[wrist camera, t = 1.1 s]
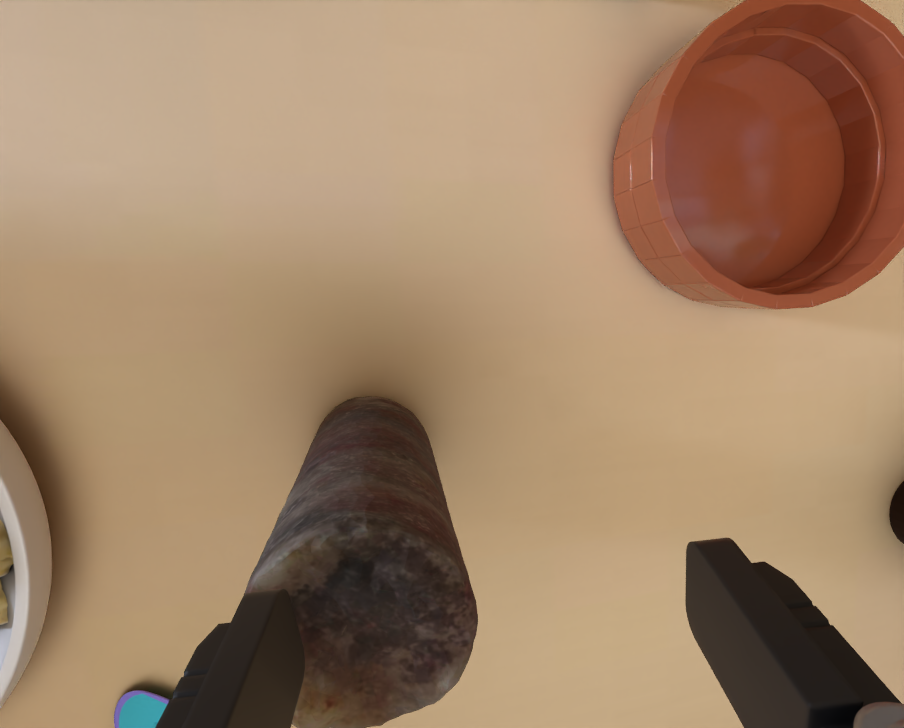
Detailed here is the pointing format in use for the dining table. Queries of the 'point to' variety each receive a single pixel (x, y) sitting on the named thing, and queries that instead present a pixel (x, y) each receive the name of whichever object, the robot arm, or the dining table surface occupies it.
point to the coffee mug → (898, 513)
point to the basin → (769, 156)
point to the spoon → (139, 710)
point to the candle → (371, 571)
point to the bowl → (20, 563)
